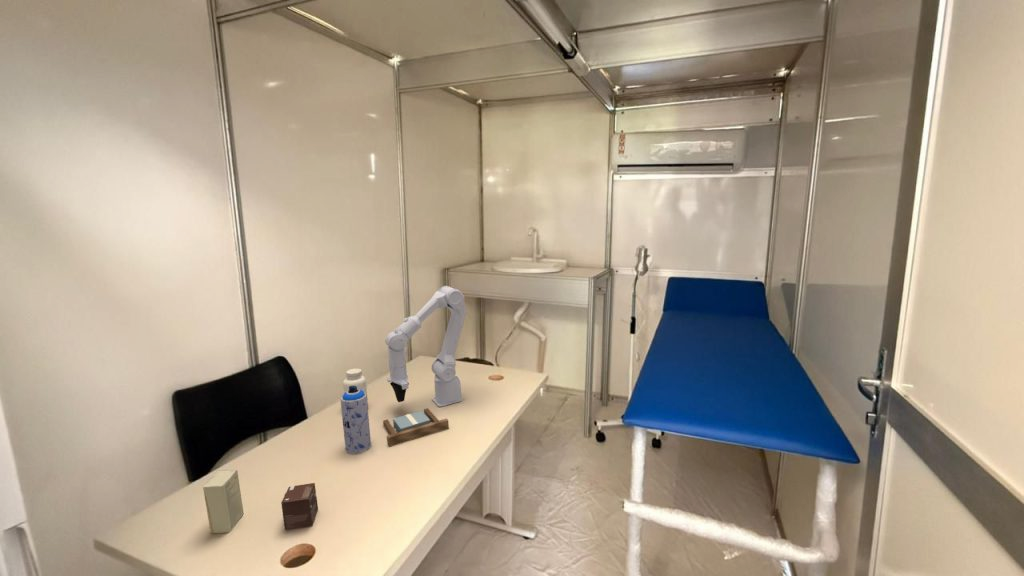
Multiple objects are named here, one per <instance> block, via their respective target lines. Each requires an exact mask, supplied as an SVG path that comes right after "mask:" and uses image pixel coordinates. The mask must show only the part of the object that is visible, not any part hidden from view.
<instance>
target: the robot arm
mask: <svg viewBox="0 0 1024 576" xmlns="http://www.w3.org/2000/svg"><path fill="white" fill-rule="evenodd" d="M439 308H440V309H442V308H448V311H450V317H449V320H448V325H447V327H446V330H445V335H444V338H443V342H442V345H441V350H440V352H439V353H438V354H437V355H436V357H435V360H434V361H433V362H432V365H431V372H432V373H433V374H434V378H433V379H434V396H435V397H432V398H431V401H433V403H434V404H435V405H436V406H438V407H439V408H441V407H445V406H448V405H452V404H456V403H459V402H462V401H463V399H462V385H461V380H460V378H459V377H458V376H457V371H456V366H457V363H456V357H455V356H456V351H457V347H458V344H459V341H460V337H461V333H462V329H463V325H464V322H465V317H466V314H467V307H466V303H465V295H464V294H463V292H462V291H461V290H460V289H457V288H453V287H452V286H449V285H443V286H441V287H440V288H439V289H438V290H436V291H435V293H434V294H433V295H432V297H431V298H430V299H429V300H428V301H427V302H426V303H425V304H424V305H423V307H422V308H421V309H420V310H418V312H416V314H415V315H413V316H411V315H410V316H408V317H405V318H404V319H403V321H402V323H401V324H400V325H399V326H398V327H395V328H394V329H393V331H391V332H389V333H388V334H387V335H386V338H385V340H384V342H385V344H386V345H387V349H388V355H387V356H388V365H389V374H390V376H389V377H388V378H387V380H386V381H387V382H388V383H389V384H390V386H391V387H392V389H393V392H394V395H395V398H396V401H397V402H398V403H401V402H405V398H406V392H407V390H408V389H409V382H408V379H409V377H408V376H409V375H408V371H407V360H406V351H405V348H406V346H407V345H408V343H407V342H408V341H409V340H410V339H411V338H412V337H413V336H414V335H415V334H416V333H417V332H418V331H419V330H420V329H421V328H422V323H423V322H424V321H426V319H427V318H428V317H430V315H432V314H433V313H434V312H435V311H436V310H438V309H439Z"/></svg>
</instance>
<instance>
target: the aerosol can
mask: <svg viewBox="0 0 1024 576" xmlns="http://www.w3.org/2000/svg"><path fill="white" fill-rule="evenodd" d="M367 398H368V394H367V395H366V393H365V392H363V391H362V390H360V389H357V386H350V387H349V390H348V391H347V392H345V393H344V392H343V395H342V396H341V397H340V405H341V406H340V409H341V418H342V430H343V437H344V438H343V439H344V451H345V453H346V454H348V455H359V454H363V453H366V452H368V451H369V450H370V449H371V447H373V445H372V444H373V443H372V440H371V439H372V438H371V429H370V418H369V408H368V407H369V404H368V405H367Z"/></svg>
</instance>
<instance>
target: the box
mask: <svg viewBox="0 0 1024 576" xmlns="http://www.w3.org/2000/svg"><path fill="white" fill-rule="evenodd" d="M281 509H282V518H283V526H284V530H285V531H288V530H295V529H296V530H297V529H301V528H305V527H306V528H307V527H312V526H313V525H314V522H315V519H316V518H317V517H316V516H317V514H318V510H319V505H318V498H317V489H316V482H310V483H304V484H299V485H292V486H288V488H287V490H286V491H285V493H284V496H283V498H282V500H281Z"/></svg>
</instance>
